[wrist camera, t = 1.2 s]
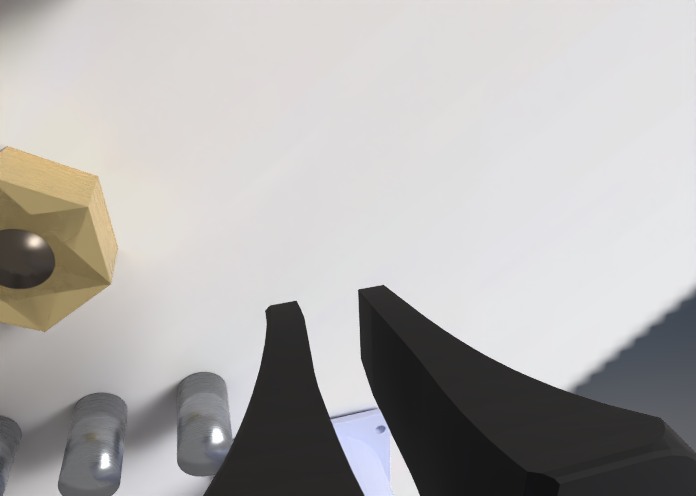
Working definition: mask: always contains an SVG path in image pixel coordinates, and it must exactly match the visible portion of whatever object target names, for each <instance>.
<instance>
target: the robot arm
mask: <svg viewBox="0 0 696 496" xmlns="http://www.w3.org/2000/svg"><path fill="white" fill-rule="evenodd" d="M358 295H359V321H360V347H361V360H362V363H363V366H364V369H365V372H366V376H367V379H368V382H369V385H370V387H371V390H372V393H373V396H374V398H375V400H376V402H377V405H378V407H379V409H375V410H370V411H366V412H361V413H357V414H352V415H348V416H344V417H339V418H335V419H330V417H329V415H328V412H327V409H326V407H325V404H324V401H323V399H322V396H321V393H320V390H319V388H318V384H317V381H316V377H315V373H314V368H313V362H312V357H311V351H310V346H309V341H308V335H307V330H306V325H305V319H304V316H303V314H302V311H301V309H300V307H299V305H298V303H297V301H293V302H287V303H282V304H276V305H271V306H269V307H268V308H267V309H266V311H265V312H266V319H267V329H266V339H265V346H264V351H263V356H262V361H261V366H260V370H259V373H258V377H257V380H256V384H255V387H254V390H253V394H252V397H251V400H250V403H249V405H248V408H247V411H246V413H245V416H244V418H243V421H242V423H241V426H240V428H239V430H238V433H237V435H236V437H235V439H234V441H233V443H232V445H231V447H230V450H229V452H228V454H227V456H226V457H225V459H224V461H223V463H222V465H221V467H220V469H219V470H218V472H217V474H216V475H215V477H214V479H213V480H212V482H211V484H210V485H209V487H208V489H207V490H206V492H205V494H204V495H203V496H394V494H393V491H392V489H391V468H390V432H391V434H392V436H393V438H394V440H395V442H396V444H397V446H398V448H399V450H400V452H401V454H402V456H403V458H404V461H405V463H406V465H407V467H408V469H409V471H410V473H411V475H412V477H413V480H414V482H415V484H416V487H417V489H418V491H419V494H420V496H696V453H695V452H694V451H693V450H692V449H691V448H690V447H689V446H688V445H687V444H686V443H685V442H684V441H683V439H682V438H681V437H679V435H678V434H677V433H676V432H675V431H674V430H672V429H671V428H670V427H669V426H668V425H667V424H666V423H665V422H664V421H663V420H662V419H661V418H659V417H654V416H650V415H647V414H643V413H638V412H634V411H631V410H627V409H622V408H618V407H615V406H610V405H607V404H603V403H600V402H597V401H594V400H591V399H588V398H585V397H582V396H578V395H575V394H572V393H570V392H567V391H564V390H561V389H558V388H556V387H553V386H551V385H548V384H546V383H543V382H541V381H538V380H536V379H534V378H531V377H529V376H526V375H524V374H522V373H520V372H518V371H515V370H513V369H511V368H509V367H507V366H505V365H503V364H501V363H499V362H497V361H495V360H493V359H491V358H489V357H488V356H486V355H484V354H482V353H480V352H479V351H477V350H475V349H473V348H472V347H470V346H469V345H467V344H465V343H464V342H462V341H460V340H459V339H457V338H455V337H454V336H452V335H451V334H449V333H448V332H446V331H445V330H443V329H442V328H440V327H439V326H438V325H436V324H435V323H433V322H432V321H430V320H429V319H428V318H426V317H425V316H424V315H422V314H421V313H419V312H418V311H417V310H416V309H414V308H413V307H412V306H410V305H409V304H408V303H406V302H405V301H404V300H402V299H401V298H400V297H399V296H397V295H396V294H395V293H393V292H392V291H391V290H389V289H388V288H387V287H385V286H384V285H381V286H376V287H370V288H365V289H359V290H358ZM378 426H380V427H378Z"/></svg>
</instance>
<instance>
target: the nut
mask: <svg viewBox="0 0 696 496" xmlns="http://www.w3.org/2000/svg"><path fill="white" fill-rule="evenodd" d="M117 250H118V246H117V243H116V239H115V236H114V232H113V229H112V225H111V221H110V218H109V214H108V211H107V207H106V203H105V200H104V196H103V193H102V189H101V185H100V182H99V178H98V176H95V175H92V174H89V173H86V172H83V171H80V170H77V169H74V168H71V167H68V166H65V165H62V164H59V163H56V162H53V161H50V160H47V159H44V158H41V157H38V156H35V155H32V154H29V153H26V152H23V151H20V150H17V149H14V148H11V147H8V146H7V147H6V148H4V149H3V150H2V151H0V322H2V323H7V324H11V325H16V326H21V327H25V328H30V329H34V330H39V331H44V332H45V331H47V330H48V329H49V328H51V327H52V326H54V325H55V324H56V323H58V322H59V321H61V320H62V319H63V318H65V317H66V316H67V315H69V314H70V313H72V312H73V311H74V310H76V309H77V308H79V307H80V306H81V305H83V304H84V303H85V302H87V301H88V300H90V299H91V298H92V297H94V296H95V295H97V294H98V293H99V292H101V291H102V290H103V289H105V288H106V287H108V286H109V285H110V284H111V282H112V277H113V271H114V266H115V260H116V255H117Z"/></svg>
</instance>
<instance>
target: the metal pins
mask: <svg viewBox="0 0 696 496" xmlns="http://www.w3.org/2000/svg"><path fill="white" fill-rule="evenodd" d="M127 412H128V410H127V406H126V404H125V402H124V401H123V400H122V399H121V398H119V397H118V396H116V395H113V394H109V393H95V394H91V395H88V396H86V397H84V398H82V399H81V400H80V401H79V402H78V403H77V404H76V406H75V408H74V412H73V416H72V421H71V425H70V430H69V435H68V439H67V444H66V449H65V453H64V458H63V463H62V467H61V472H60V477H59V481H58V489H59V491H60V493H61V494H62V495H63V496H112V495H113V494H114V493H115V492H116V491H117V490H118V488H119V485H120V480H121V470H122V460H123V451H124V441H125V431H126V422H127ZM20 439H21V430H20V428H19V426H18V425H17V424H16V423H15V422H14V421H12V420H11V419H9V418H6V417H3V416H0V496H3V494H4V491H5V487H6V484H7V481H8V478H9V474H10V471H11V468H12V465H13V461H14V458H15V455H16V452H17V448H18V445H19V442H20ZM232 443H233V441H232V432H231V422H230V413H229V404H228V394H227V386H226V383H225V381H224V380H223V379H222V378H221V377H220V376H218V375H216V374H214V373H209V372H200V373H196V374H193V375H190V376H188V377H187V378H185V379H184V380H183V381H182V382H181V383H180V385H179V387H178V390H177V463H178V466H179V467H180V469H181V470H182V471H184V472H185V473H187V474H189V475H192V476H209V475H213V474H216V473H217V472H218V470H219V469H220V467H221V465H222V463H223V461H224V459H225V457H226V456H227V454H228V452H229V450H230V447H231V445H232Z"/></svg>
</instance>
